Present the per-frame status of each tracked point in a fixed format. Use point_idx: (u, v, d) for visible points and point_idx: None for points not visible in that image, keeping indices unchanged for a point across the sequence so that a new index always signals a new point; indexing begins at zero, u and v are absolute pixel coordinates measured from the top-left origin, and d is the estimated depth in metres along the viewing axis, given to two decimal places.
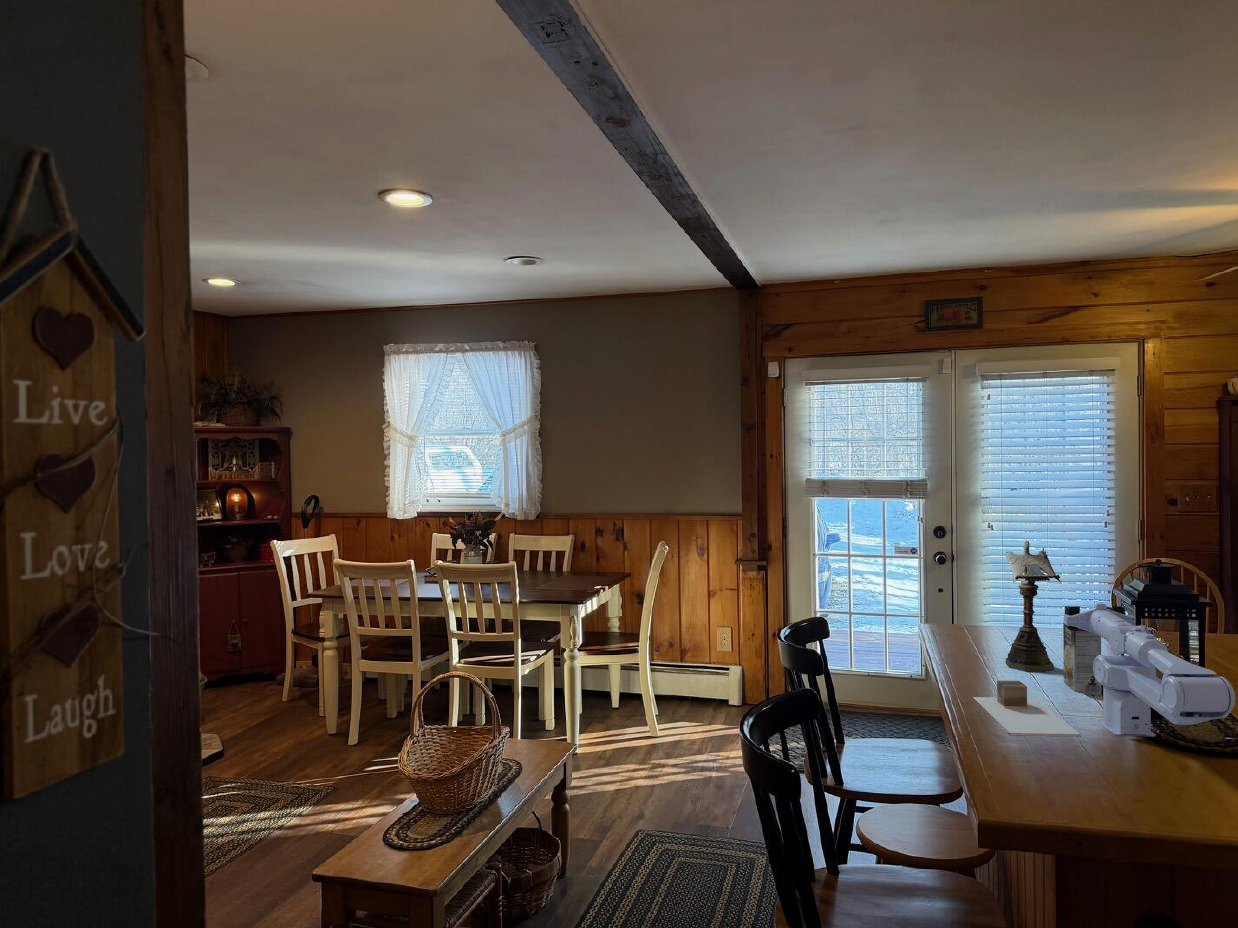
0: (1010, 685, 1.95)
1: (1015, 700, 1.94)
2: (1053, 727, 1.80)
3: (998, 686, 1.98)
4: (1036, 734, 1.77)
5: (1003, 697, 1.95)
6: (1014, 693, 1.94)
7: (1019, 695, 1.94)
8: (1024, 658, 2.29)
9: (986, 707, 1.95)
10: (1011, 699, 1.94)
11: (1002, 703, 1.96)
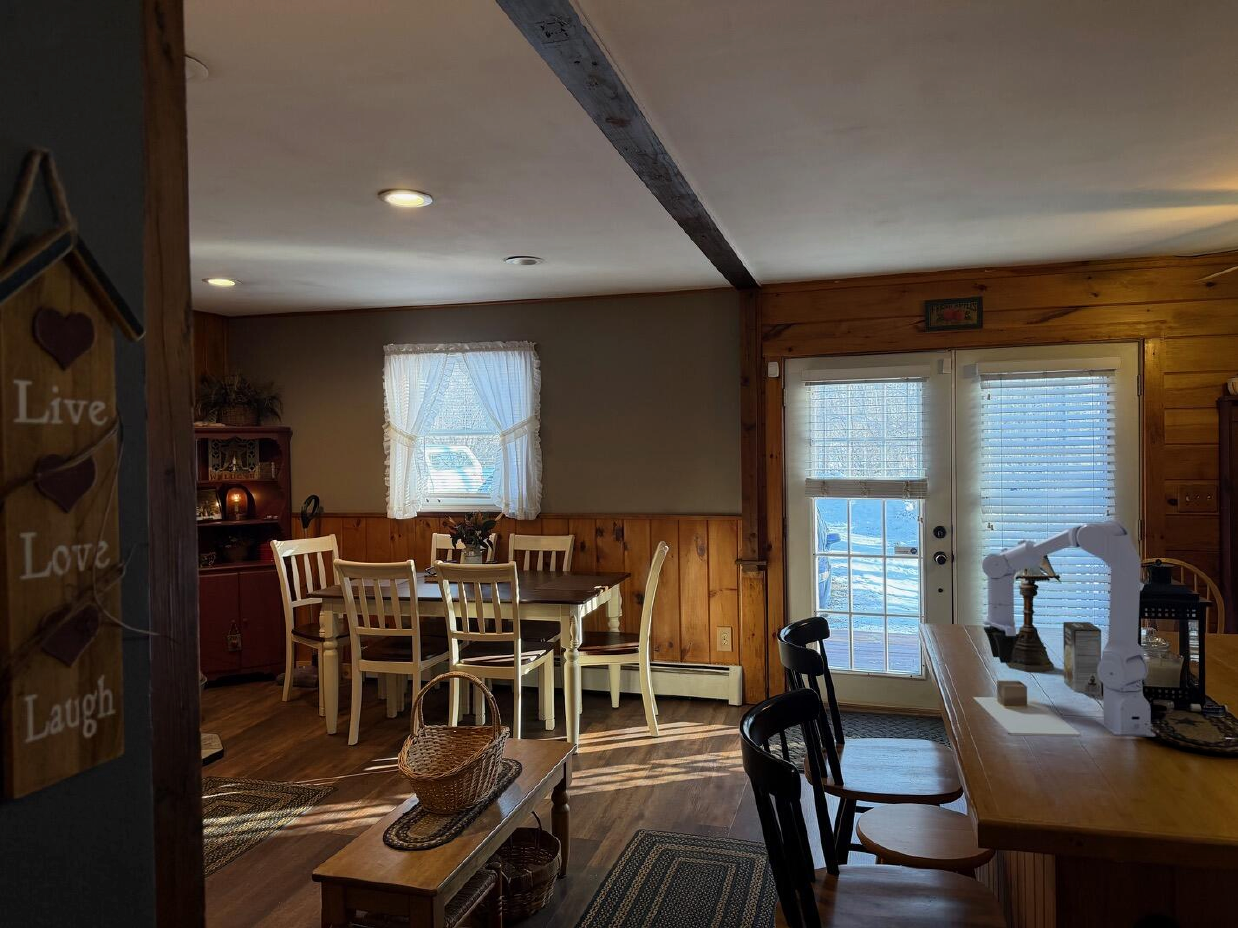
0: (1010, 685, 1.95)
1: (1015, 700, 1.94)
2: (1053, 727, 1.80)
3: (998, 686, 1.98)
4: (1036, 734, 1.77)
5: (1003, 697, 1.95)
6: (1014, 693, 1.94)
7: (1019, 695, 1.94)
8: (1024, 658, 2.29)
9: (986, 707, 1.95)
10: (1011, 699, 1.94)
11: (1002, 703, 1.96)
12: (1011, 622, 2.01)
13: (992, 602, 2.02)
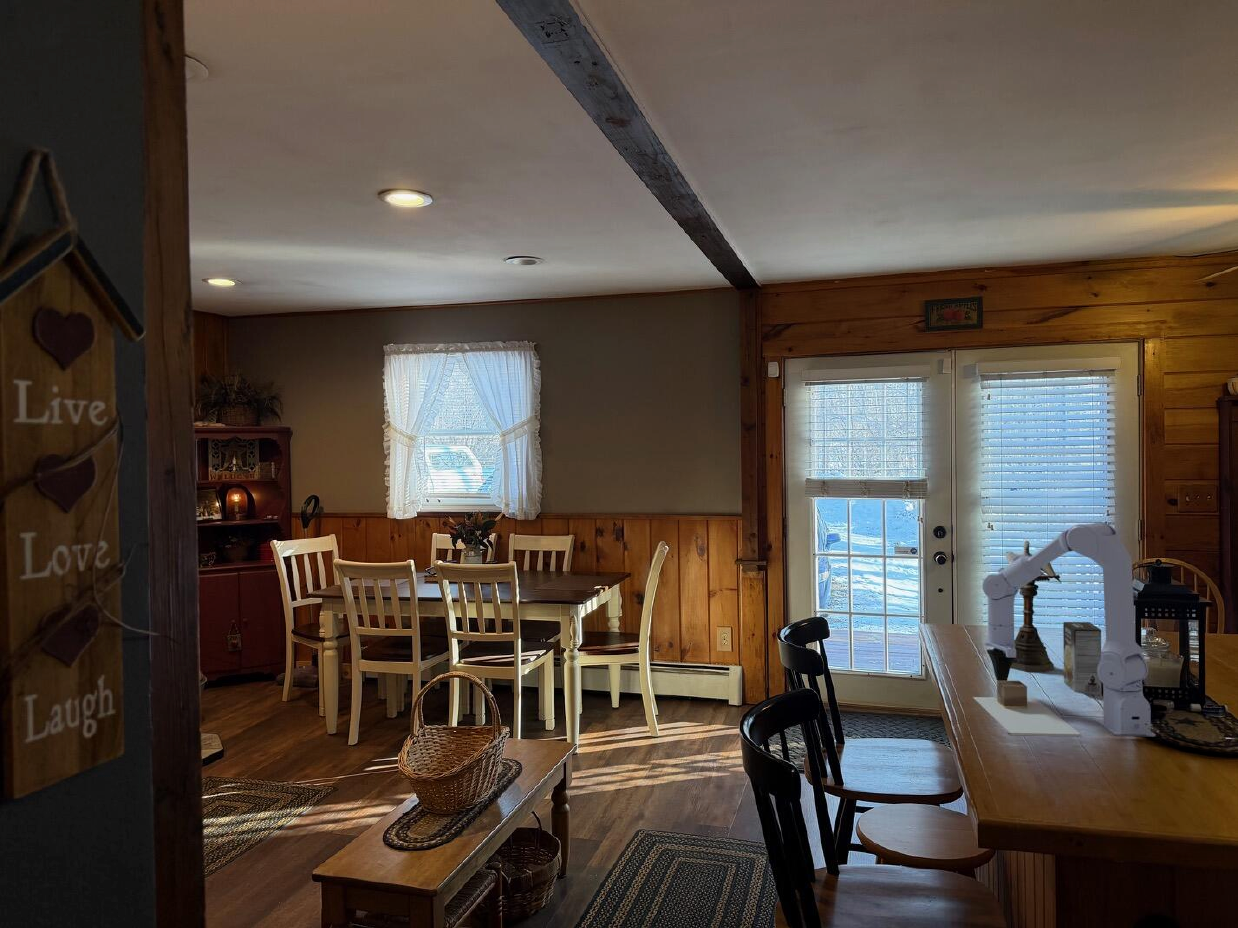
0: (1010, 685, 1.95)
1: (1015, 700, 1.94)
2: (1053, 727, 1.80)
3: (998, 686, 1.98)
4: (1036, 734, 1.77)
5: (1003, 697, 1.95)
6: (1014, 693, 1.94)
7: (1019, 695, 1.94)
8: (1024, 658, 2.29)
9: (986, 707, 1.95)
10: (1011, 699, 1.94)
11: (1002, 703, 1.96)
12: (1011, 643, 2.01)
13: (992, 623, 2.02)
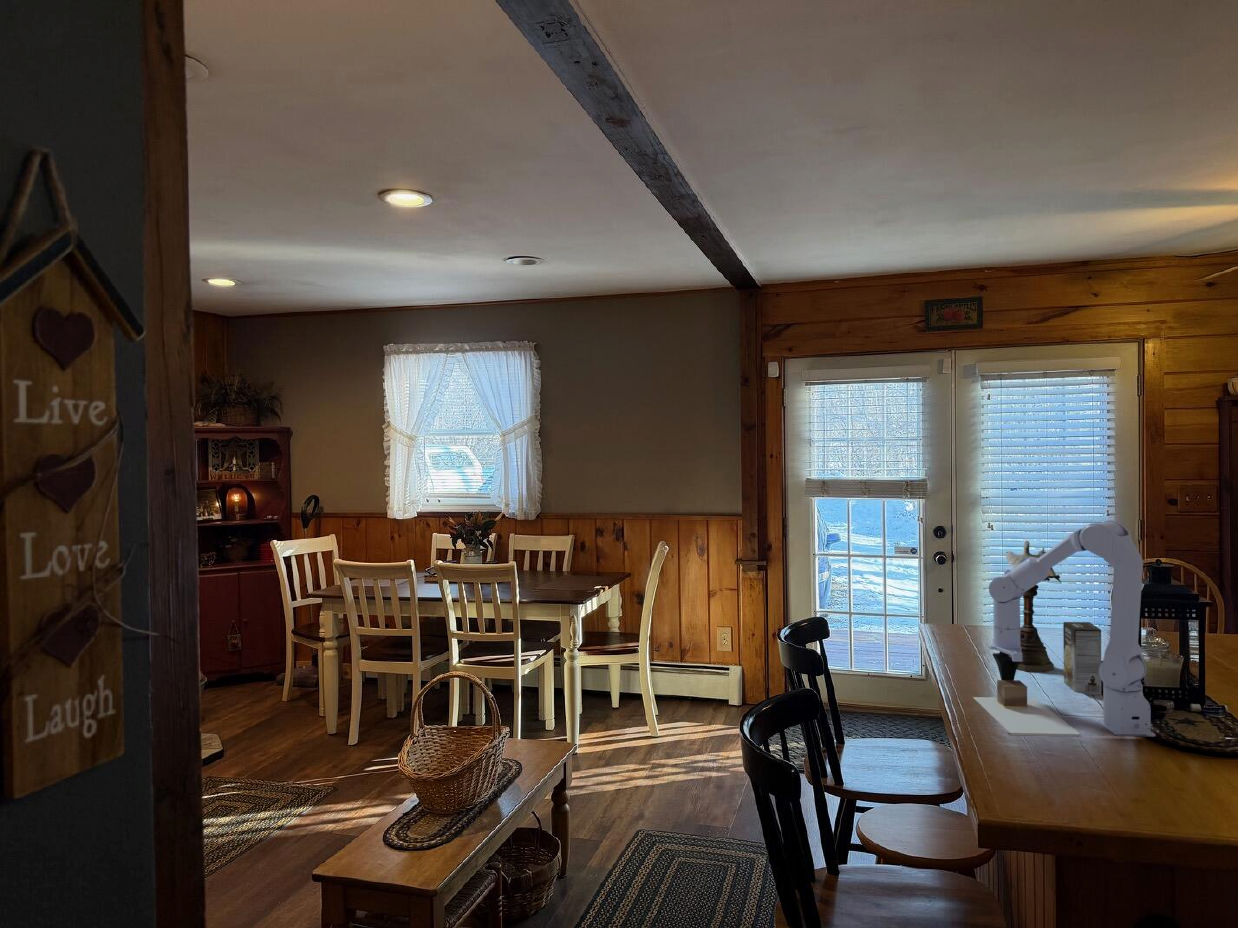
0: (1010, 685, 1.95)
1: (1015, 700, 1.94)
2: (1053, 727, 1.80)
3: (998, 686, 1.98)
4: (1036, 734, 1.77)
5: (1003, 697, 1.95)
6: (1014, 693, 1.94)
7: (1019, 695, 1.94)
8: (1024, 658, 2.29)
9: (986, 707, 1.95)
10: (1011, 699, 1.94)
11: (1002, 703, 1.96)
12: (1017, 647, 1.97)
13: (999, 626, 1.98)
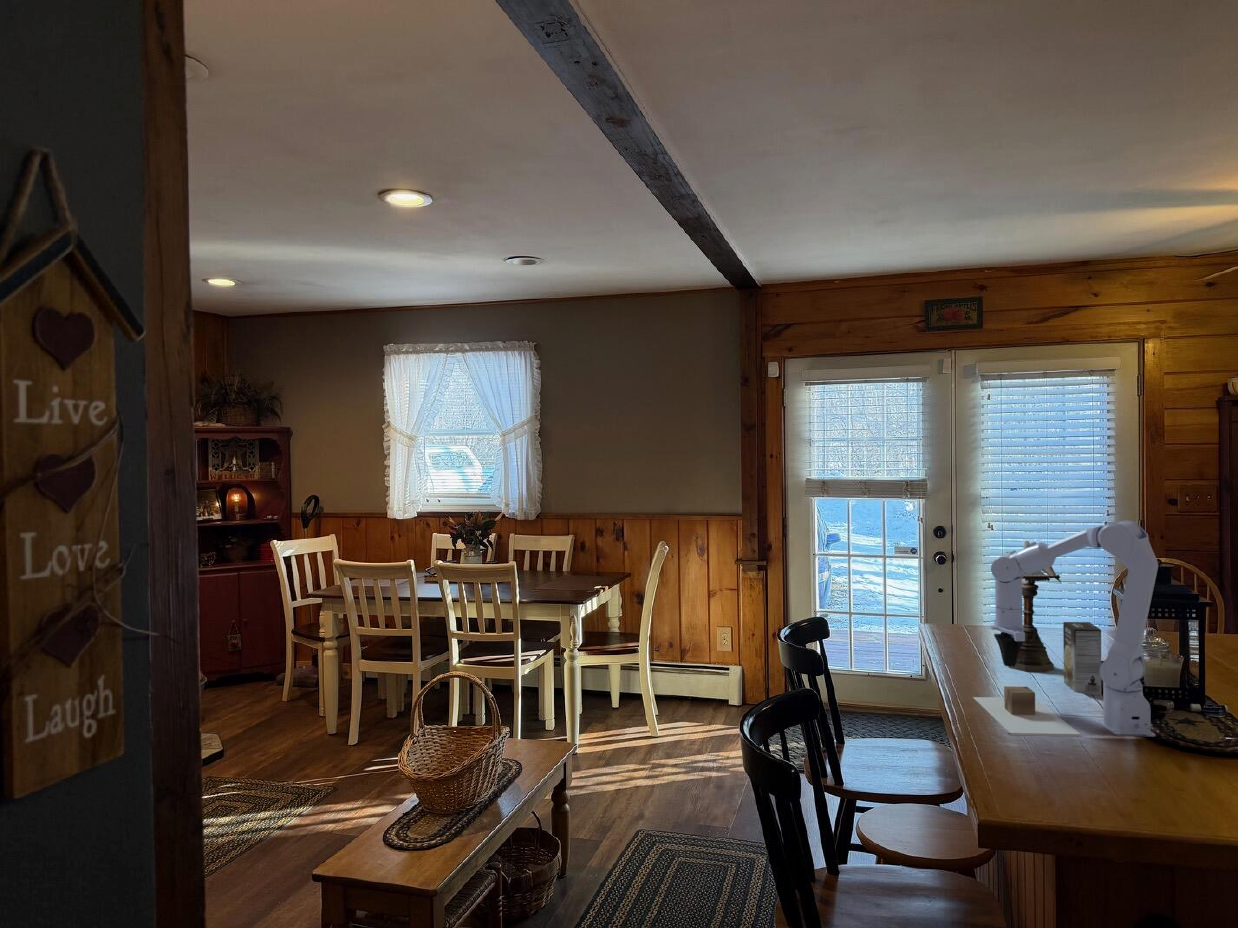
0: (1019, 711, 1.89)
1: None
2: (1053, 727, 1.80)
3: (1009, 695, 1.91)
4: (1036, 734, 1.77)
5: (1007, 707, 1.92)
6: None
7: None
8: (1024, 658, 2.29)
9: (986, 707, 1.95)
10: None
11: (1005, 703, 1.94)
12: (1020, 627, 1.95)
13: (1002, 606, 1.96)
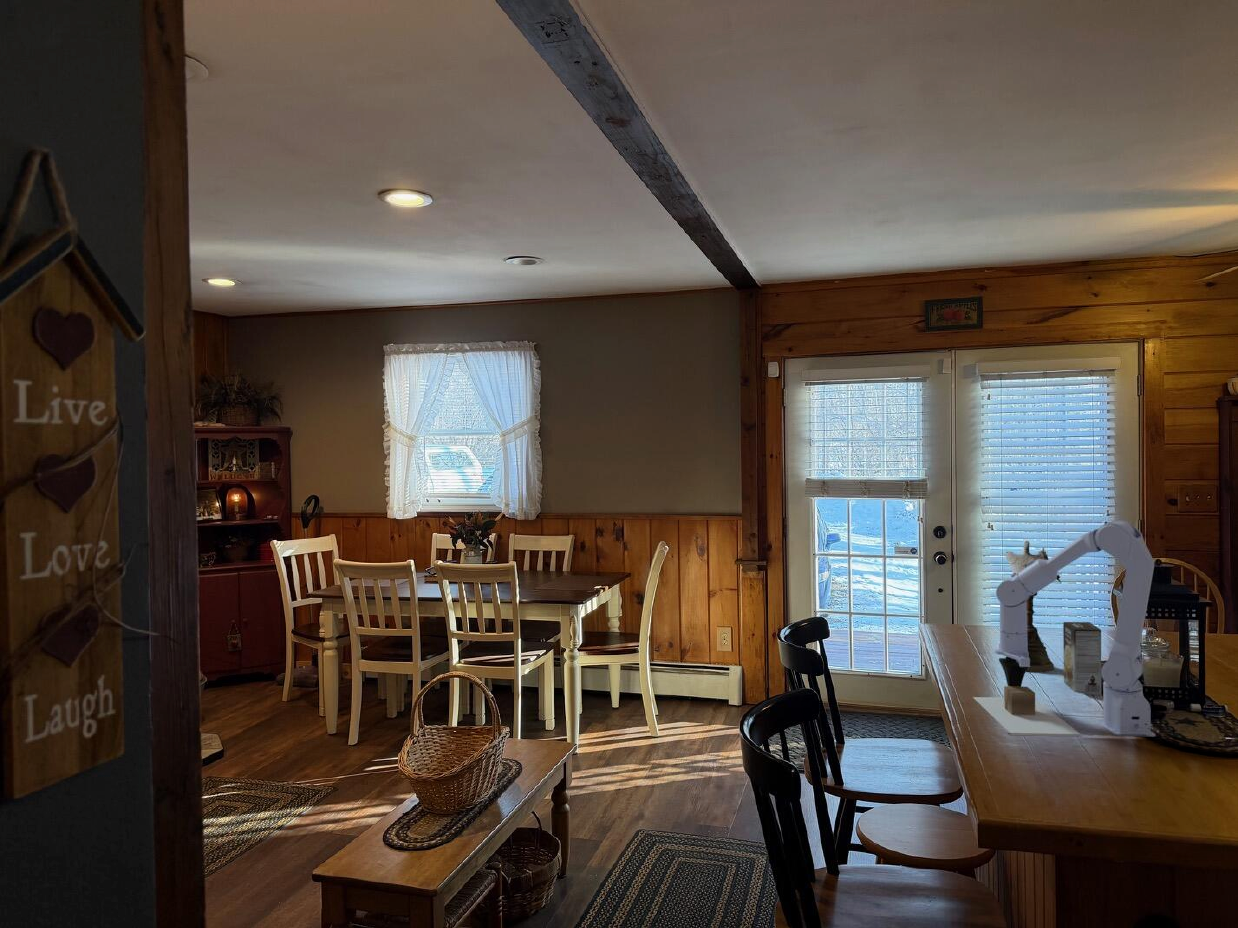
0: (1019, 711, 1.89)
1: None
2: (1053, 727, 1.80)
3: (1009, 695, 1.91)
4: (1036, 734, 1.77)
5: (1007, 707, 1.92)
6: None
7: None
8: None
9: (986, 707, 1.95)
10: None
11: (1005, 703, 1.94)
12: (1024, 652, 1.93)
13: (1008, 631, 1.93)
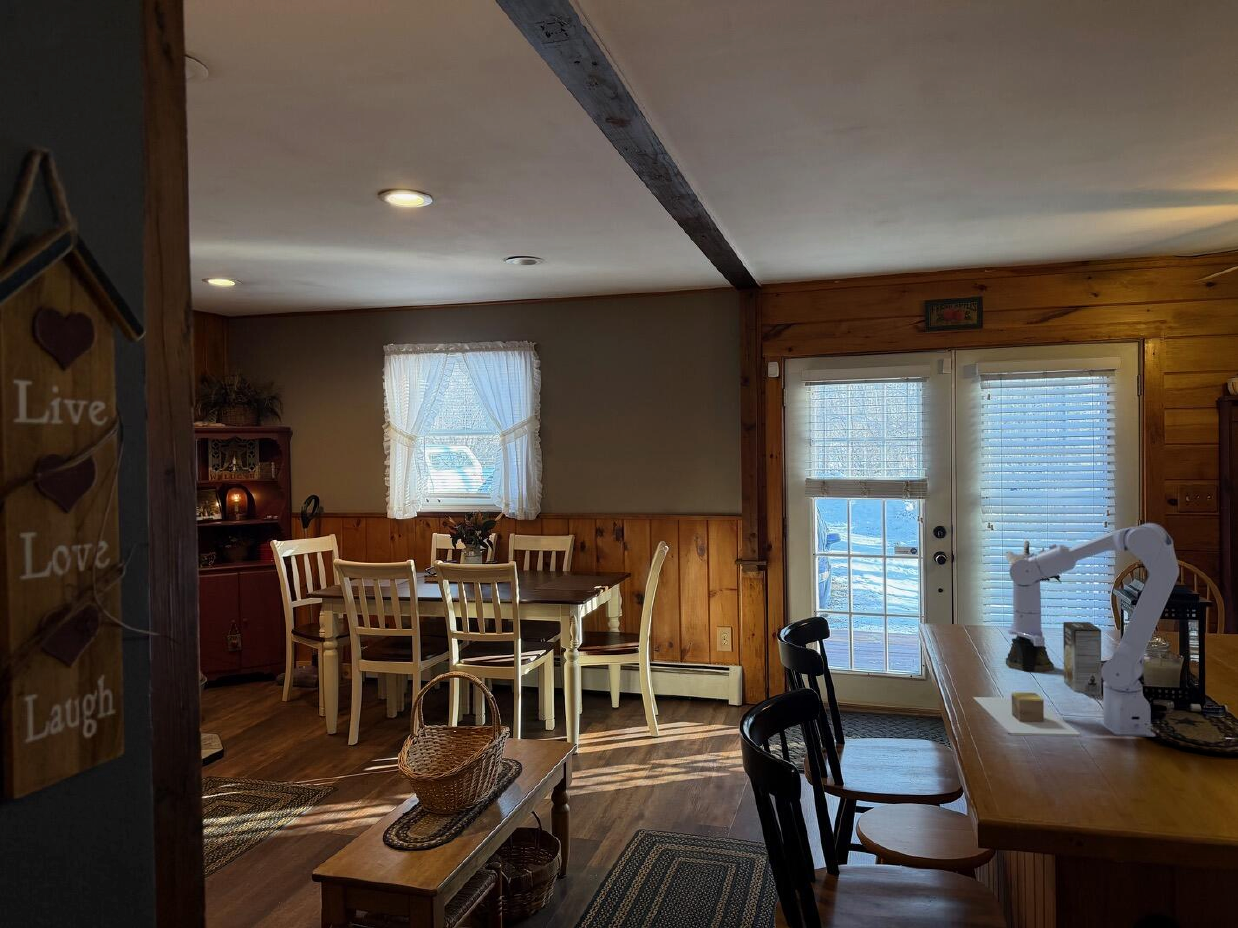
0: None
1: None
2: (1053, 727, 1.80)
3: (1017, 714, 1.86)
4: (1036, 734, 1.77)
5: (1012, 703, 1.89)
6: None
7: None
8: None
9: (986, 707, 1.95)
10: None
11: (1013, 696, 1.88)
12: (1038, 631, 1.91)
13: (1021, 611, 1.91)
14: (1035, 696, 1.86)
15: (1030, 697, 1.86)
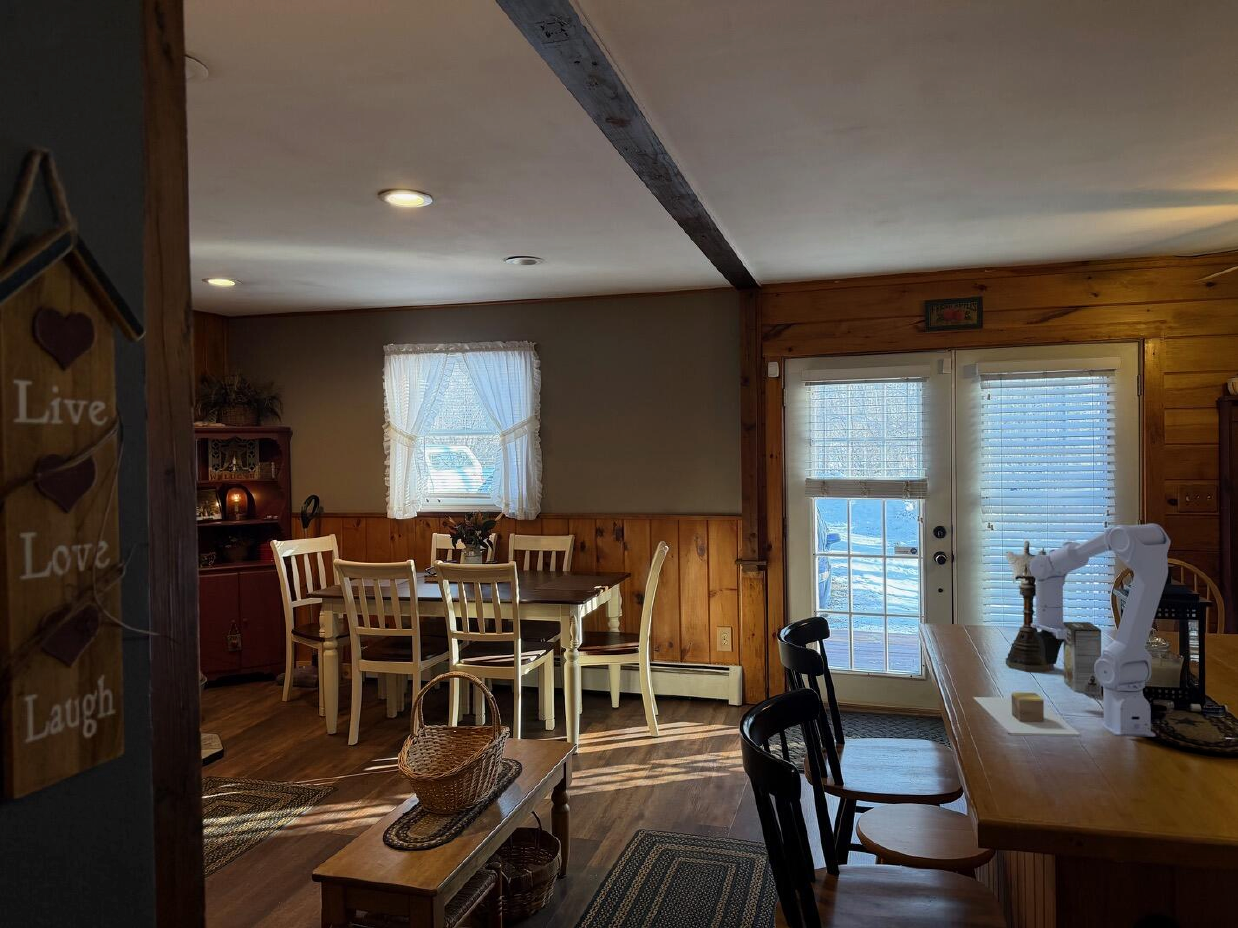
0: None
1: None
2: (1053, 727, 1.80)
3: (1017, 714, 1.86)
4: (1036, 734, 1.77)
5: (1012, 703, 1.89)
6: None
7: None
8: (1024, 658, 2.29)
9: (986, 707, 1.95)
10: None
11: (1013, 696, 1.88)
12: (1061, 625, 1.97)
13: (1038, 604, 1.99)
14: (1035, 696, 1.86)
15: (1030, 697, 1.86)
